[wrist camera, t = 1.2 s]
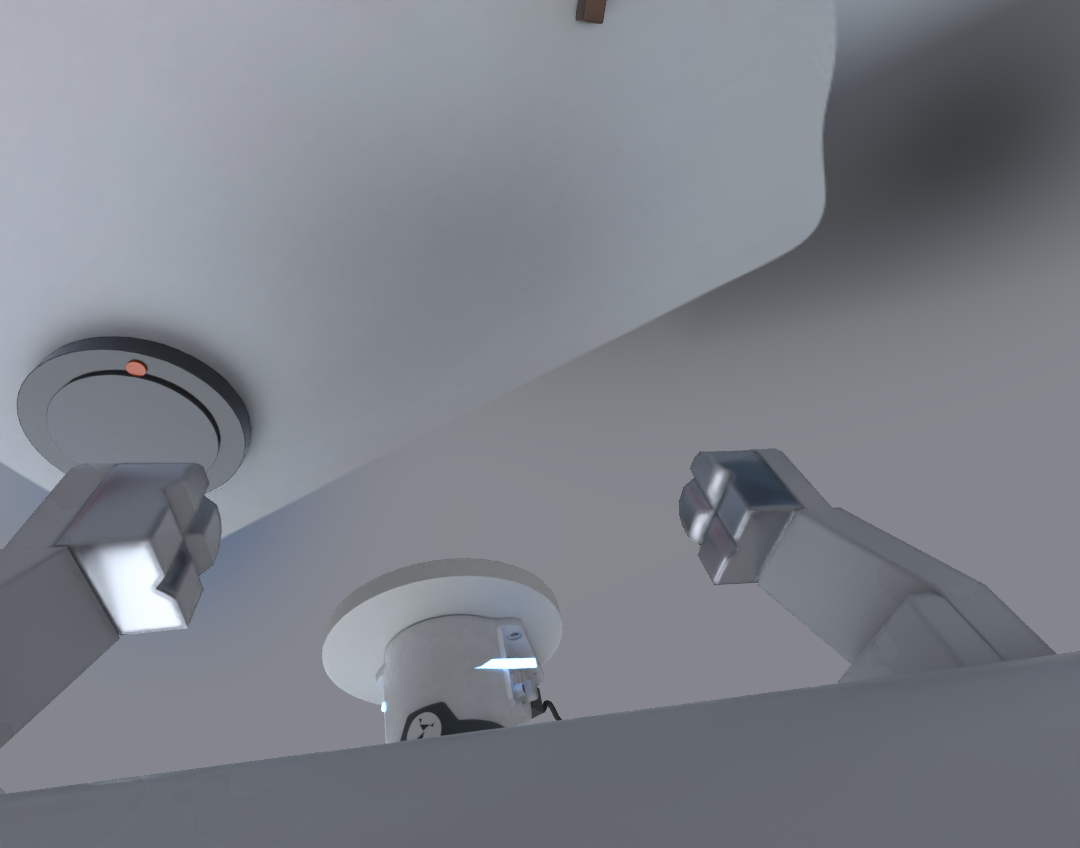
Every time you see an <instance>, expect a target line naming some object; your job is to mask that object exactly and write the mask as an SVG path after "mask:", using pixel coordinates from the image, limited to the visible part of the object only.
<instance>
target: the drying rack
mask: <svg viewBox="0 0 1080 848" xmlns="http://www.w3.org/2000/svg"><path fill="white" fill-rule="evenodd" d="M605 6H606V0H578V5H577V13H576V20H577V21H582V22H588V23H594V24H602V23H603V19H604V12H605Z"/></svg>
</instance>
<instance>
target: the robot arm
mask: <svg viewBox="0 0 1080 848" xmlns="http://www.w3.org/2000/svg"><path fill="white" fill-rule="evenodd" d="M690 469H691V472H692V474H693V476H694V478H693V479H692V480H691V481H690V482H689V483H688V484H686V485H685V486H684V487H683V490H682V494H681V497H680V500H679V515H680V519H681V523H682V526H683V528H684V530H685V532H686V534H687V536H688V537H689V538H691V539H692V540H694V541H695V542H696V543H698V544H699V545H701V546H700V549H699V553H698V556H699V558H700V560H701V562H702V564H703V566H704V567H705V569H706V571H707V573H708V575H709V577H710V578H711V580H712V582H713V584H714V585H721V584H741V583H758V584H757V585H758V586H759V587H760V588H761V589H762V590H764V591H765V592H766V593H767V594H768V595H770V596H771V597H772V598H773V599H774V600H776V601H777V602H778V603H779V604H780V605H781V606H783V607H784V608H785V609H786V610H788V611H789V612H790V613H791V614H792V615H793V616H795V617H796V618H797V619H798V620H799V621H801V622H802V623H803V624H804V625H805V626H807V627H808V628H809V629H810V630H811V631H813V632H814V633H815V634H816V635H817V636H819V637H820V638H821V639H822V640H823V641H824V642H826V643H827V644H828V645H829V646H830V647H832V648H833V649H834V650H835V651H836V652H837V653H839V654H840V655H841V656H843V657H844V658H845V659H846V660H847V661H848V662H849V663H851V664H852V665H851V666H850V667H849V668H848V670H847V671H846V672H845V673H844V675H843V676H842V677H841V678H840V680H839V681H838V683H837V684H830V685H823V686H815V687H807V688H800V689H792V690H785V691H778V692H769V693H762V694H754V695H747V696H739V697H732V698H724V699H717V700H709V701H702V702H694V703H687V704H679V705H672V706H664V707H656V708H649V709H641V710H634V711H626V712H619V713H611V714H603V715H596V716H588V717H581V718H573V719H566V720H562V719H561V718H560V717H559V715H558V713H557V711H556V709H555V707H554V705H553V704H552V702H550V701H548V700H546V701H544V703H543V705H542V701H541V695H540V690H539V688H537V686H538V685H539V684H540V683H541V682H542V681H543V680H544V673H543V670H542V667H541V665H540V663H539V660H538V658H537V656H536V653H535V651H534V649H533V646H532V644H531V642H530V639H529V637H528V635H527V632H526V630H525V628H524V626H523V623H522V621H521V620H520V619H518V618H496V619H493V618H485V617H480V616H474V615H449V616H442V617H437V618H432V619H428V620H425V621H422V622H419V623H417V624H415V625H412V626H410V627H408V628H407V629H405V630H403V631H402V632H400V633H399V634H397V635H396V636H395V637H394V638H393V639H392V640H391V641H390V643H389V644H388V645H387V647H386V650H385V653H384V664H383V666H382V667H381V668H380V669H379V671H378V672H377V674H376V685H377V686H378V687H380V688H382V689H383V694H384V702H383V703H382V711H383V712H384V717H385V738H386V743H384V744H377V745H369V746H362V747H354V748H347V749H340V750H332V751H324V752H317V753H309V754H302V755H294V756H287V757H279V758H272V759H264V760H257V761H249V762H241V763H234V764H226V765H219V766H212V767H205V768H196V769H189V770H181V771H174V772H167V773H159V774H152V775H144V776H137V777H129V778H121V779H113V780H106V781H98V782H91V783H83V784H76V785H69V786H61V787H54V788H46V789H39V790H31V791H24V792H16V793H8V794H5V792H4V791H3V790H2V789H1V788H0V848H1080V651H1077V652H1069V653H1062V654H1056V653H1055V652H1054V651H1053V650H1052V649H1051V648H1050V647H1049V646H1048V645H1047V644H1046V643H1045V642H1044V641H1043V640H1042V639H1041V638H1040V637H1039V636H1038V635H1037V634H1036V633H1035V632H1033V630H1031V628H1029V627H1028V626H1027V625H1026V624H1025V623H1024V622H1023V621H1022V620H1021V619H1020V618H1019V617H1018V616H1017V615H1016V614H1015V613H1014V612H1013V611H1012V610H1011V609H1010V608H1009V607H1008V606H1007V605H1006V604H1005V603H1004V602H1003V601H1001V600H1000V599H999V598H998V597H997V596H996V595H995V594H994V593H993V592H992V591H991V590H990V589H989V588H988V587H987V586H986V585H984V584H983V583H981V582H979V581H977V580H975V579H973V578H971V577H969V576H967V575H966V574H963V573H962V572H960V571H958V570H956V569H954V568H952V567H950V566H949V565H947V564H945V563H943V562H941V561H939V560H937V559H936V558H934V557H932V556H930V555H928V554H926V553H924V552H922V551H921V550H919V549H917V548H915V547H913V546H911V545H909V544H907V543H905V542H904V541H902V540H900V539H898V538H896V537H894V536H892V535H890V534H889V533H887V532H885V531H883V530H881V529H879V528H877V527H875V526H873V525H872V524H870V523H868V522H866V521H864V520H862V519H860V518H859V517H857V516H855V515H853V514H851V513H849V512H847V511H845V510H843V509H842V508H832V507H831V506H830V505H829V504H828V502H827V501H826V500H825V499H824V498H823V497H822V496H821V495H820V493H819V492H818V491H817V490H816V489H815V488H814V487H813V486H812V484H811V483H810V482H809V481H808V480H807V479H806V478H805V477H804V475H803V474H802V473H801V472H800V471H799V470H798V469H797V468H796V467H795V466H794V464H793V463H792V462H791V461H790V460H789V458H788V457H787V456H786V455H785V454H784V453H783V452H781V451H779V450H777V449H775V448H774V449H773V448H772V449H751V450H742V451H707V452H706V451H705V452H699V453H698V454H697V455H696V457H695V458H694V460H693V462H692V465H691V468H690ZM209 484H210V482H209V480H208V477H207V474H206V472H205V469H204V467H203V466H202V465H200V464H198V463H121V464H118V463H87V464H80V465H77V466H75V467H73V468H71V469H70V470H69V471H68V472H67V473H66V474H65V476H64V477H63V478H62V479H61V480H60V482H59V483H58V484H57V485H56V486H55V488H54V489H53V490H52V491H51V492H50V494H49V495H48V496H47V497H46V498H45V500H44V501H43V502H42V503H41V504H40V506H39V507H38V508H37V509H36V510H35V511H34V513H33V514H32V515H31V516H30V517H29V519H28V520H27V521H26V522H25V524H24V525H23V526H22V527H21V528H20V529H19V531H18V532H17V533H16V534H15V535H14V537H13V538H12V539H11V540H10V542H9V543H8V544H7V545H6V546H5V547H4V549H1V550H0V748H1V747H2V746H3V745H4V744H6V743H7V742H8V741H9V740H10V739H11V738H12V737H13V736H14V735H15V734H16V733H18V732H19V731H20V730H21V729H22V728H23V727H24V726H25V725H26V724H27V723H28V722H29V721H31V720H32V719H33V718H34V717H35V716H36V715H37V714H38V713H39V712H40V711H41V710H43V709H44V708H45V707H46V706H47V705H48V704H49V703H50V702H51V701H52V700H53V699H55V697H57V696H58V695H59V694H60V693H61V692H62V691H63V690H64V689H65V688H66V687H68V686H69V685H70V684H71V683H72V682H73V681H74V680H75V679H76V678H77V677H78V676H79V675H81V674H82V673H83V672H84V671H85V670H86V669H87V668H88V667H89V666H90V665H91V664H93V663H94V662H95V661H96V660H97V659H98V658H99V657H100V656H101V655H102V654H103V653H104V652H106V650H108V649H109V648H110V647H111V646H112V645H113V644H114V643H115V642H116V641H118V640H119V638H120V637H119V636H118V635H125V634H134V633H145V632H154V631H164V630H172V629H182V628H188V626H189V623H190V621H191V619H192V616H193V614H194V612H195V609H196V607H197V604H198V602H199V599H200V597H201V594H202V592H203V586H202V583H201V581H200V578H199V576H200V575H201V574H202V573H203V572H205V571H206V570H207V569H208V568H210V567H211V566H212V565H213V564H214V562H215V559H216V556H217V554H218V551H219V547H220V540H221V532H222V529H221V519H220V514H219V511H218V507H217V505H216V504H215V503H214V502H212V501H211V500H209V499H208V498H207V497H205V496H204V494H205V492H206V490H207V488H208V486H209ZM547 706H548V707H549V708H550V710H551V712H552V713H553V716H554V718H555V719H556V721H550V722H543V723H535V724H528V723H529V722H530V720H531V719H532V718H534V717H536V716H538V715H540V714H542V713H544V712H545V711H546V709H547Z"/></svg>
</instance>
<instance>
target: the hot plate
mask: <svg viewBox="0 0 1080 848" xmlns="http://www.w3.org/2000/svg"><path fill="white" fill-rule="evenodd" d="M17 414H18V418H19V421H20V425H21V427H22V429H23V431H24V433H25V435H26V436H27V438H28V439H29V441H30V442H31V444H32V445H33V446H34V447H35V449H36V450H37V451H38V452H39V453H40V454H41V455H42V456H43V457H44V458H45V459H46V460H48V461H49V462H50V463H51V464H52V465H54V466H55V467H56V468H58V469H59V470H61V471H62V472H64V473H65V474H66V473H67V472H68V471H69V470H70V469H71V468H73V467H75V466H77V465H80V464H87V463H118V464H121V463H198V464H200V465H202V466H203V467H204V469H205V472H206V474H207V477H208V480H209V482H210V484H209V486H208V488H207V490H206V492H205V493H207V492H209V491H212V490H214V489H216V488H217V487H219V486H221V485H222V484H224V483H225V482H226V481H228V480H229V479H230V478H231V477H232V476H233V475H234V474H235V473H236V471H237V470H238V468H239V467H240V465H241V463H242V460H243V458H244V455H245V453H246V450H247V448H248V445H249V440H250V430H251V427H250V421H249V417H248V414H247V411H246V408H245V406H244V404H243V403H242V401H241V399H240V397H239V396H238V395H237V393H236V392H235V390H234V389H233V388H232V387H231V386H230V385H229V384H228V383H227V382H226V380H224V379H223V378H222V377H221V376H220V375H219V374H218V373H216V372H215V371H214V370H212V369H211V368H210V367H208V366H207V365H205V364H204V363H202V362H200V361H199V360H197V359H195V358H193V357H192V356H190V355H188V354H185V353H183V352H181V351H179V350H176V349H174V348H171V347H168V346H165V345H162V344H159V343H155V342H151V341H147V340H141V339H135V338H126V337H99V338H92V339H85V340H81V341H78V342H74V343H71V344H69V345H66V346H64V347H62V348H60V349H58V350H56V351H55V352H53V353H52V354H50V355H49V356H48V357H47V358H46V359H45V360H44V361H43V362H42V363H40V364H39V365H38V366H37V367H36V368H35V369H34V370H33V371H32V372H31V373H30V374H29V375H28V376H27V377H26V379H25V380H24V382H23V383H22V385H21V388H20V390H19V393H18V399H17Z"/></svg>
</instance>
